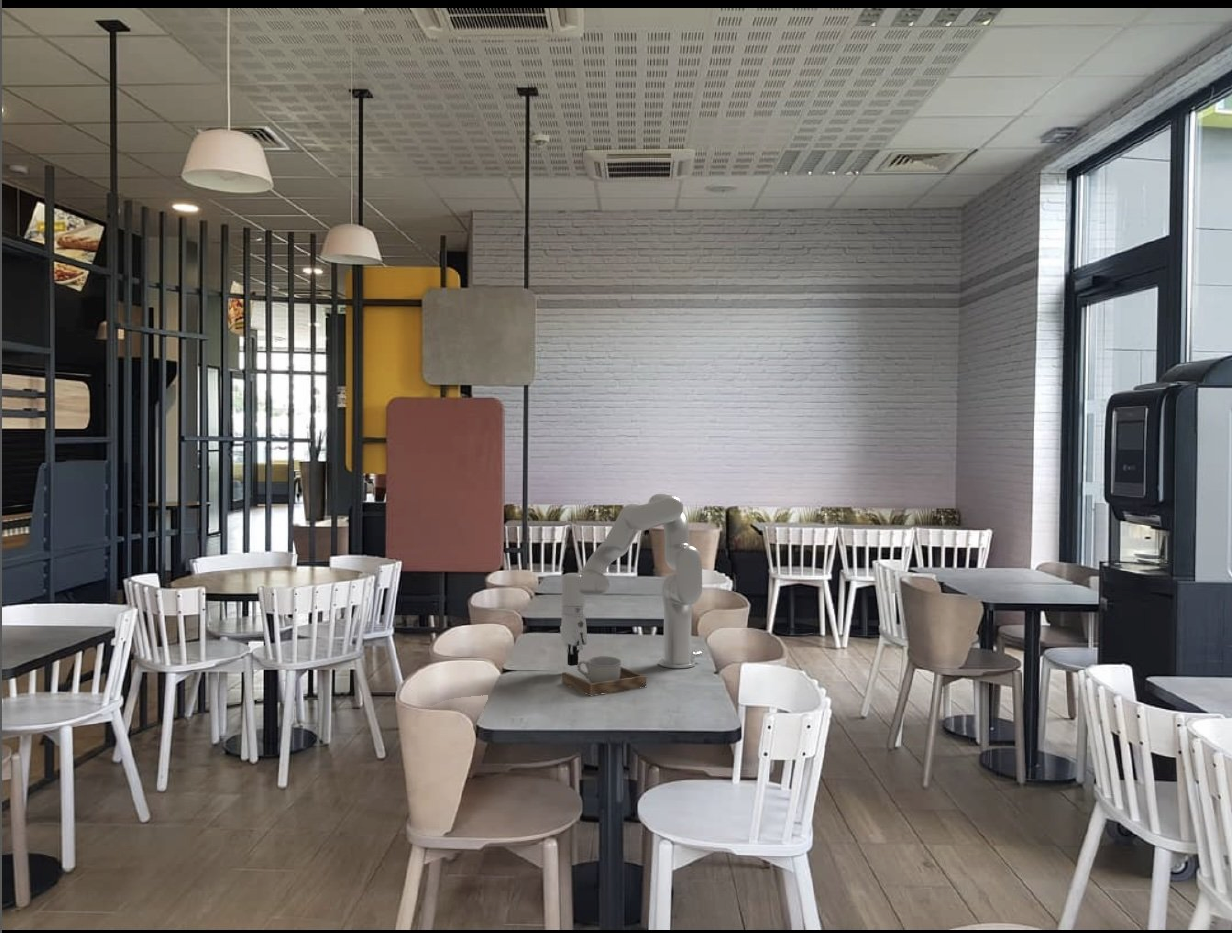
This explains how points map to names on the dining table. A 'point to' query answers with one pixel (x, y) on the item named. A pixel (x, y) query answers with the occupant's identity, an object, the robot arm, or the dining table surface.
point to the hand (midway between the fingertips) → (572, 664)
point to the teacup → (601, 669)
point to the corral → (606, 683)
